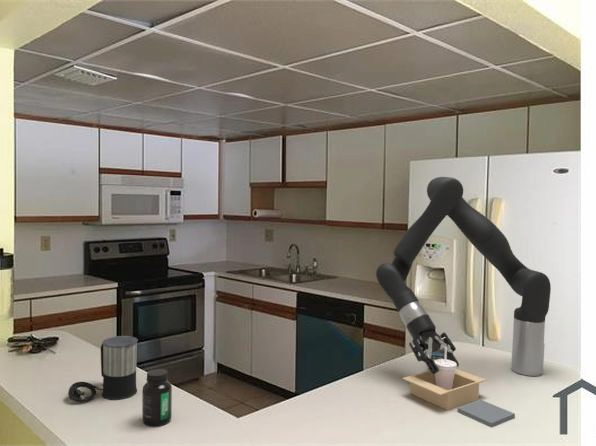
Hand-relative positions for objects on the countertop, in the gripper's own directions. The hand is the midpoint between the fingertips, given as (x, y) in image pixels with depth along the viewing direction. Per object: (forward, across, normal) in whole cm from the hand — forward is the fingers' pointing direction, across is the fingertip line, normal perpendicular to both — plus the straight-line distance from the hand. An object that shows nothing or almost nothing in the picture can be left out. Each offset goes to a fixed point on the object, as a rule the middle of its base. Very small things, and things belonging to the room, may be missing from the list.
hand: (446, 369), depth 137 cm
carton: (+5, 0, +6) cm, 8 cm away
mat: (+15, 0, -4) cm, 15 cm away
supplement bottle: (-14, -73, +25) cm, 78 cm away
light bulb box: (-4, +14, +15) cm, 21 cm away
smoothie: (+5, 0, +6) cm, 8 cm away
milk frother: (-29, -80, +40) cm, 95 cm away
